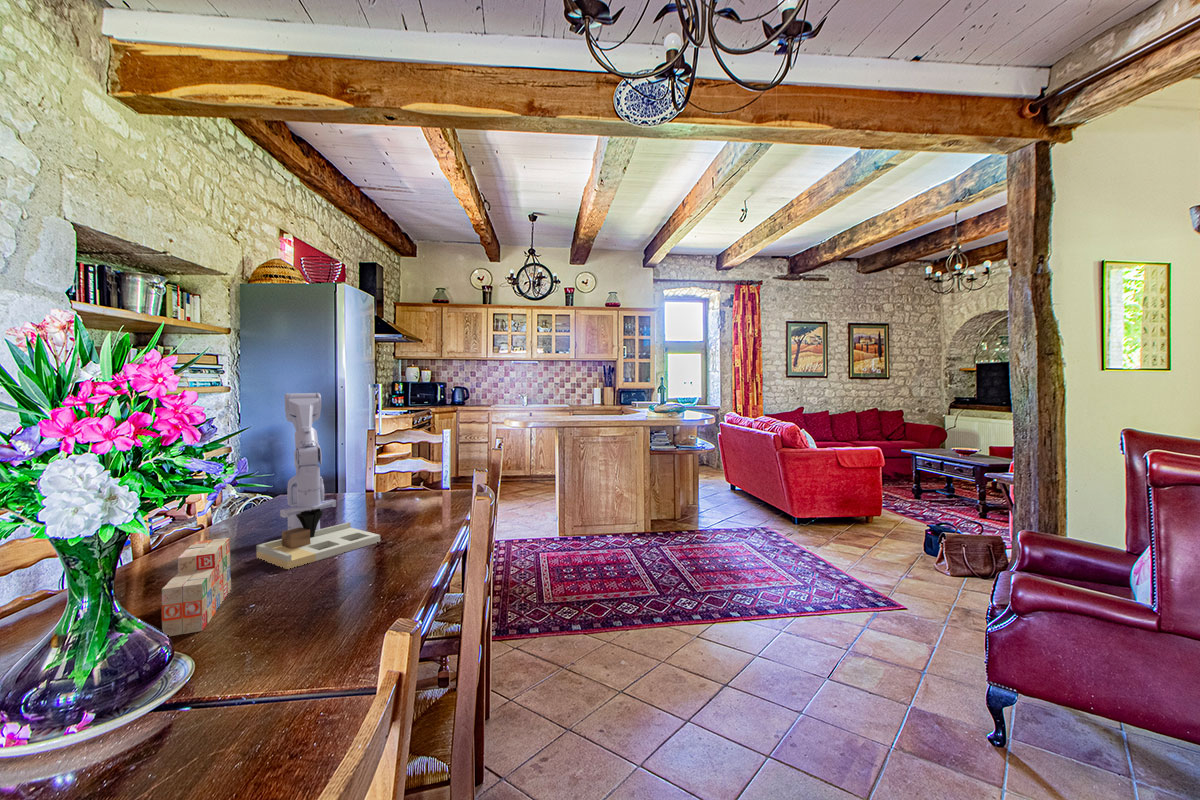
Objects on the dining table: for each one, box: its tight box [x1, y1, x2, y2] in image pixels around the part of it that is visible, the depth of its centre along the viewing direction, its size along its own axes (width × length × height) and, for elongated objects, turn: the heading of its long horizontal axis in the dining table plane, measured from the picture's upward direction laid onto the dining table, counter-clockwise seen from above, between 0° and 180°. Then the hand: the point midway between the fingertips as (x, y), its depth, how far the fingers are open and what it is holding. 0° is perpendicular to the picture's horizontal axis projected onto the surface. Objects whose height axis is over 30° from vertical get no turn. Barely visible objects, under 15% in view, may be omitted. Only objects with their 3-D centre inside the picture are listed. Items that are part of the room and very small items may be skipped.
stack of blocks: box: [161, 537, 232, 637], centre depth 104 cm, size 21×6×12 cm, turn 25°
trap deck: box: [255, 522, 381, 570], centre depth 142 cm, size 16×26×4 cm, turn 148°
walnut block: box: [281, 527, 310, 549], centre depth 140 cm, size 5×5×4 cm
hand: (310, 536), depth 143 cm, fingers closed
